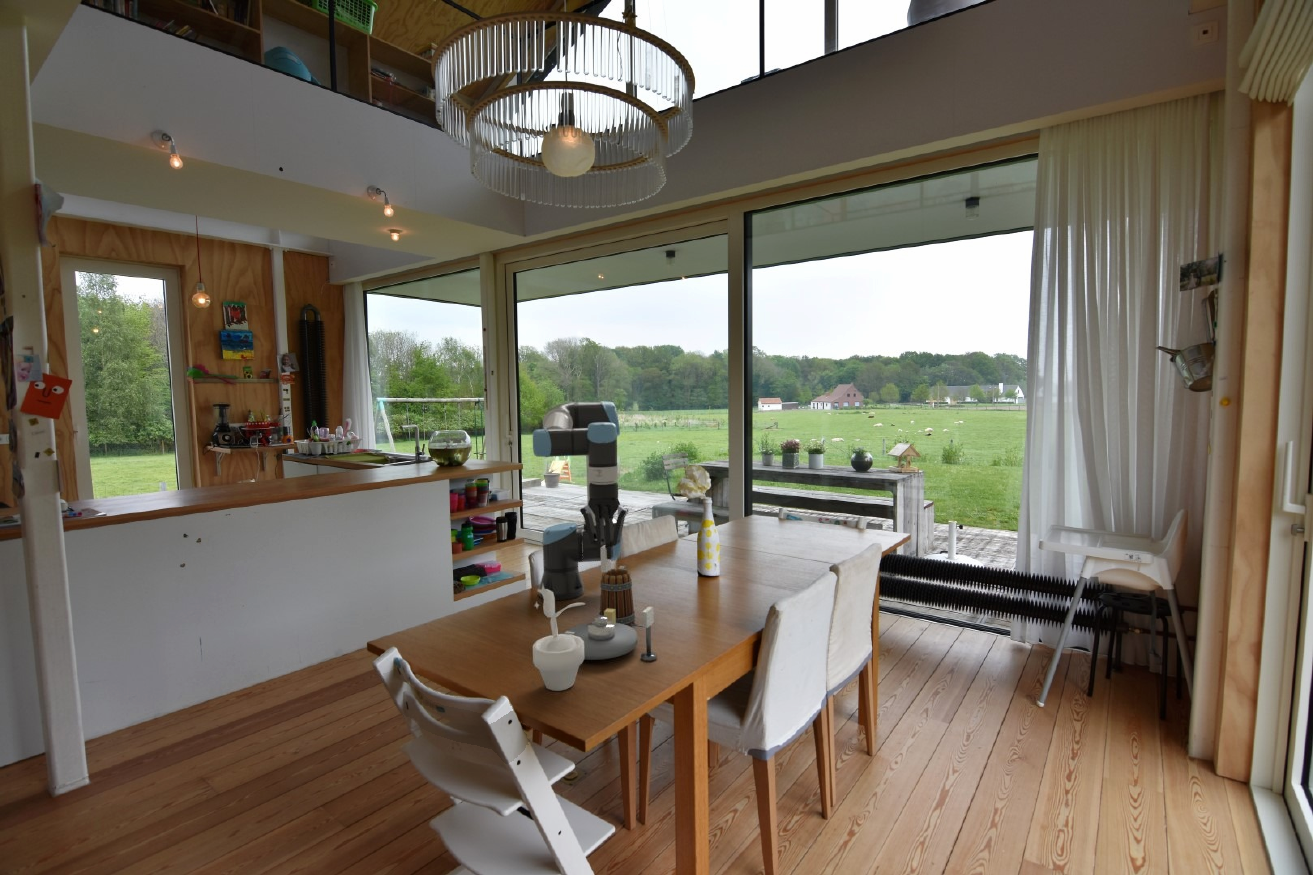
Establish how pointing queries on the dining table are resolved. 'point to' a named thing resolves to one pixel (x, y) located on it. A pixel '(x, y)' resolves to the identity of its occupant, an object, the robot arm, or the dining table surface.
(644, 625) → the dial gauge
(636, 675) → the dining table surface
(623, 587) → the mug
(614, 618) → the turntable
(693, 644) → the dining table surface
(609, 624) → the cover
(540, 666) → the potted plant
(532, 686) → the dining table surface
